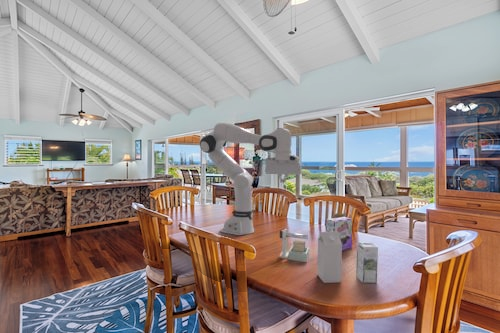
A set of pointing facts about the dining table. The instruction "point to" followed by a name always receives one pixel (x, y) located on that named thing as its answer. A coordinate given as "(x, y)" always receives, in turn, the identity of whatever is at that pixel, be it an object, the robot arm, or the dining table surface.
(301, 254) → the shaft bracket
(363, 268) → the syrup box
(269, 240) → the dining table surface
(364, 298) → the dining table surface
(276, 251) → the dining table surface
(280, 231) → the shaft
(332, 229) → the candy box
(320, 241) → the milk carton
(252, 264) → the dining table surface
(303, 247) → the block
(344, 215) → the fruit
